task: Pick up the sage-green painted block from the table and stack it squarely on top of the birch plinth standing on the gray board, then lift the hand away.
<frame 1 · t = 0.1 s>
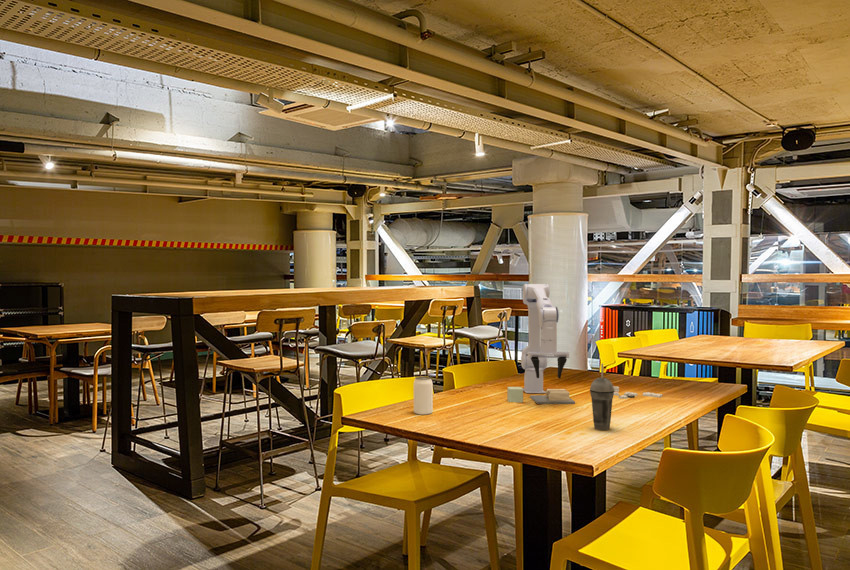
hand: (548, 377, 227), 10 cm above the table, tool pointing down, fingers open, 7 cm apart
can: (423, 413, 214), on the table
architectural model: (622, 397, 246), on the table
beverage cup: (601, 429, 192), on the table
sage block: (515, 401, 235), on the table
birch plinth: (557, 400, 236), resting on gray board
gray board: (551, 400, 236), on the table
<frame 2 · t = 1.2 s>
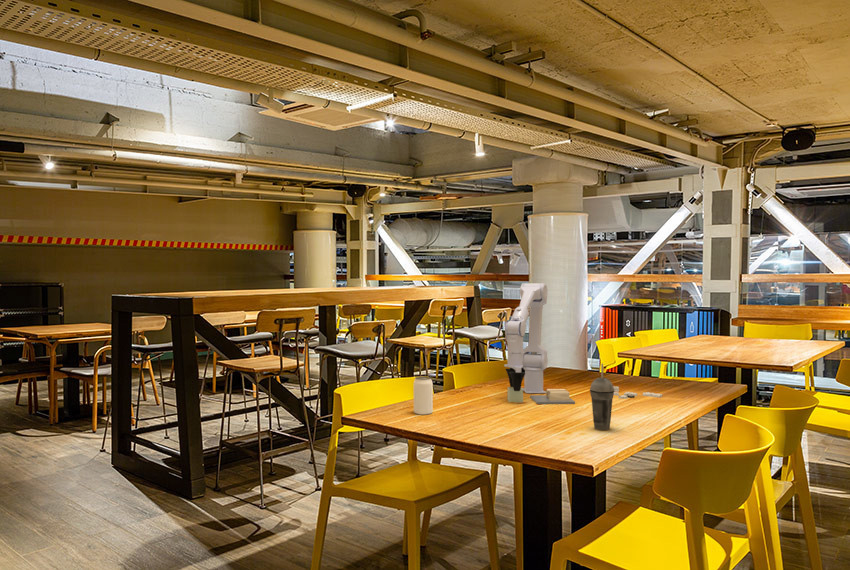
hand: (515, 389, 235), 4 cm above the table, tool pointing down, fingers open, 7 cm apart
nothing on the table moved.
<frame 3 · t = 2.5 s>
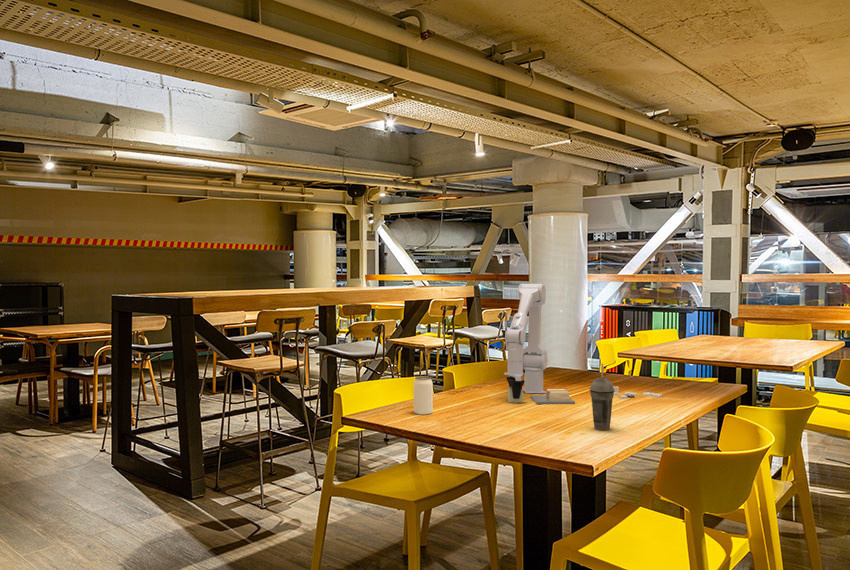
hand: (515, 397, 235), 1 cm above the table, tool pointing down, fingers closed on sage block, 5 cm apart
sage block: (515, 401, 235), on the table, touching gripper
everything else where it was.
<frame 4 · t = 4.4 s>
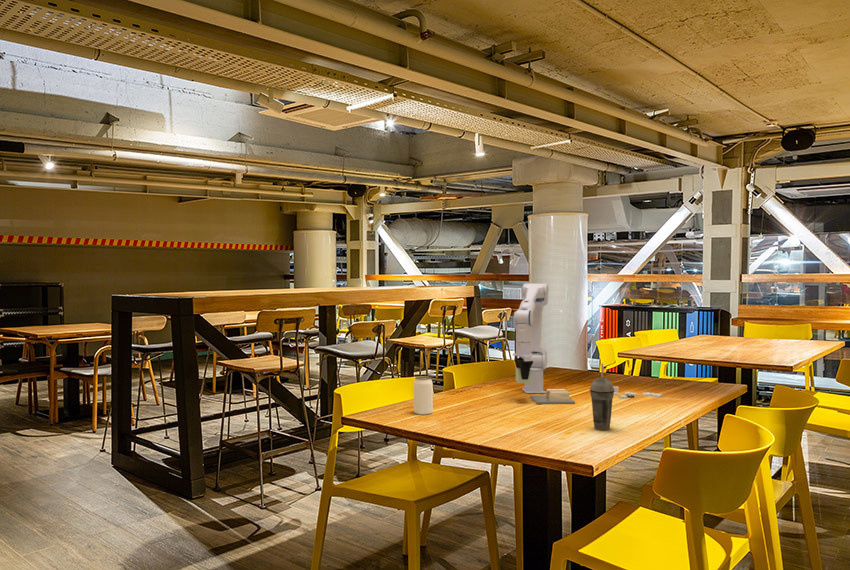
hand: (523, 378, 235), 9 cm above the table, tool pointing down, fingers closed on sage block, 5 cm apart
sage block: (523, 382, 235), point 7 cm above the table, touching gripper
everything else where it was.
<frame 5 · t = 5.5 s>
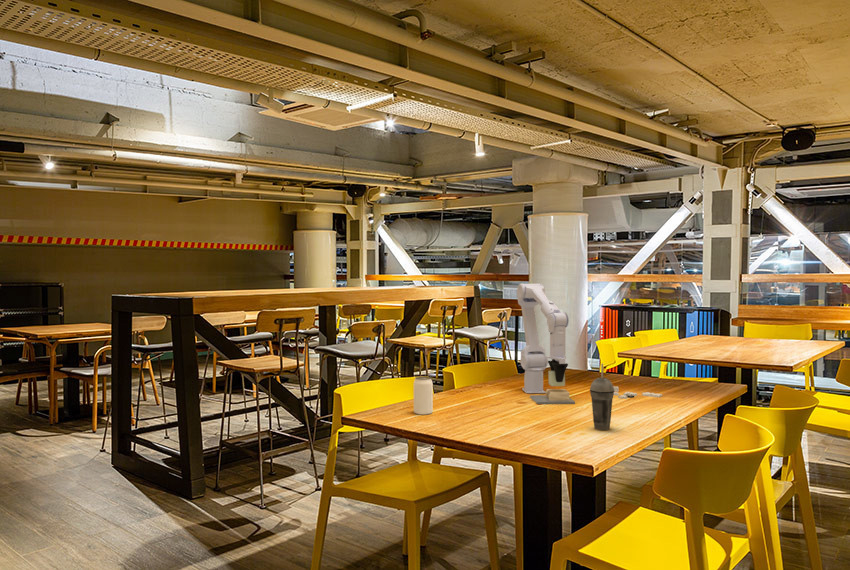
hand: (557, 380, 236), 8 cm above the table, tool pointing down, fingers closed on sage block, 5 cm apart
sage block: (556, 384, 236), point 6 cm above the table, touching gripper
everything else where it was.
when the fingers open (6 cm above the table, at t = 6.2 s): sage block stays where it is, resting on birch plinth.
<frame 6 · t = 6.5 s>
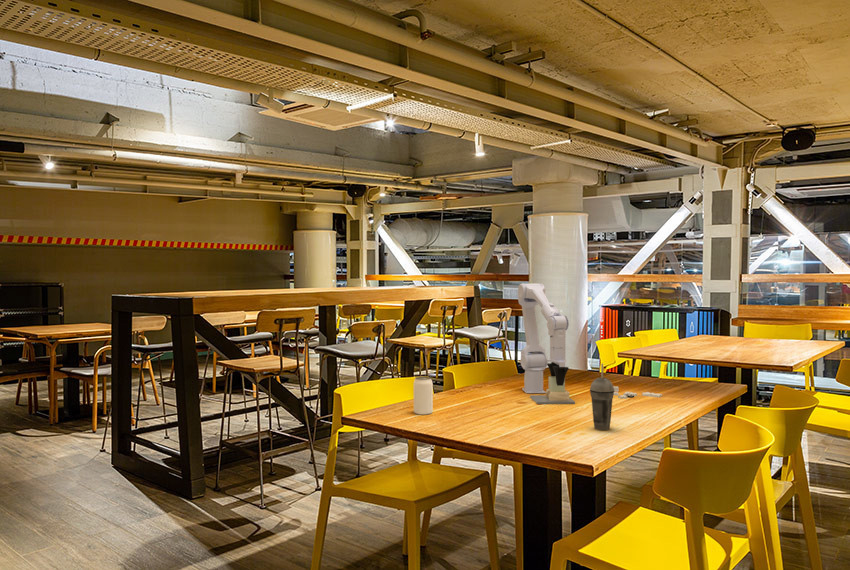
hand: (557, 383, 236), 6 cm above the table, tool pointing down, fingers open, 7 cm apart
sage block: (556, 390, 236), point 4 cm above the table, touching birch plinth
everything else where it was.
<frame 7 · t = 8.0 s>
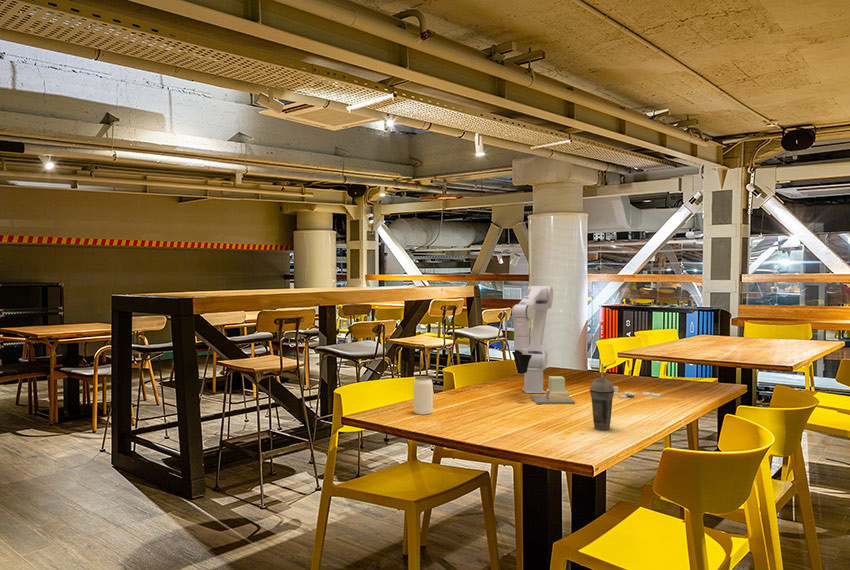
hand: (521, 371, 240), 10 cm above the table, tool pointing down, fingers open, 7 cm apart
nothing on the table moved.
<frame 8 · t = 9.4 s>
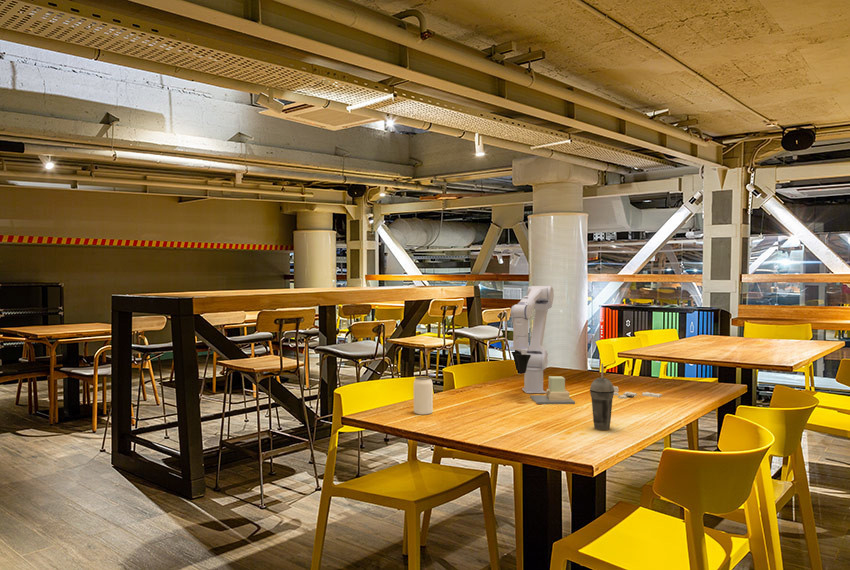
hand: (520, 371, 240), 10 cm above the table, tool pointing down, fingers open, 7 cm apart
nothing on the table moved.
at the end: sage block 0.4 cm off-centre on the birch plinth, point 3.8 cm above the birch plinth's base; sage block tilted 0°; the gripper is holding nothing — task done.
